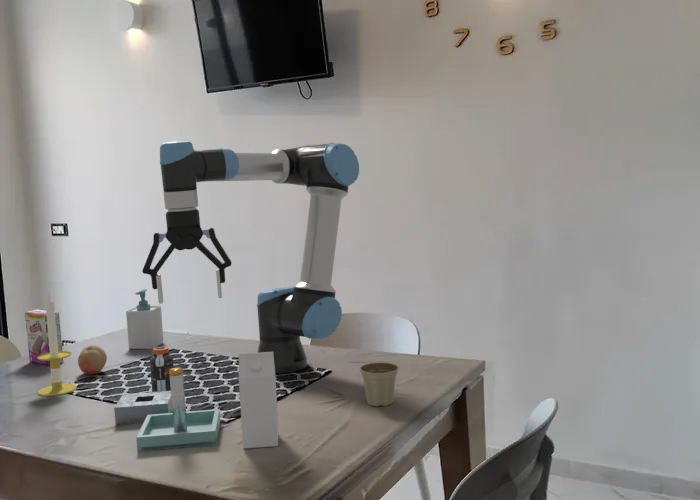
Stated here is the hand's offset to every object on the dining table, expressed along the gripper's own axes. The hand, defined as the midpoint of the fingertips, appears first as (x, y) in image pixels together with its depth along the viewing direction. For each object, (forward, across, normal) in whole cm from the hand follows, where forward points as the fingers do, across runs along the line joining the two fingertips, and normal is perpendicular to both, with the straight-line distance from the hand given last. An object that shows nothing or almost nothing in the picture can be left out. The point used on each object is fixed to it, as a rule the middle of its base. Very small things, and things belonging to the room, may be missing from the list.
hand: (190, 299), depth 165 cm
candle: (+27, +40, -29) cm, 56 cm away
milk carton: (+27, -14, +24) cm, 39 cm away
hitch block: (+27, +13, 0) cm, 30 cm away
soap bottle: (+28, +22, -74) cm, 83 cm away
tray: (+27, +4, +16) cm, 31 cm away
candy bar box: (+27, +51, -62) cm, 85 cm away
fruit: (+27, +34, -44) cm, 62 cm away
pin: (+26, +4, +16) cm, 31 cm away
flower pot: (+28, -42, +6) cm, 51 cm away
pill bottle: (+28, +11, -21) cm, 36 cm away
